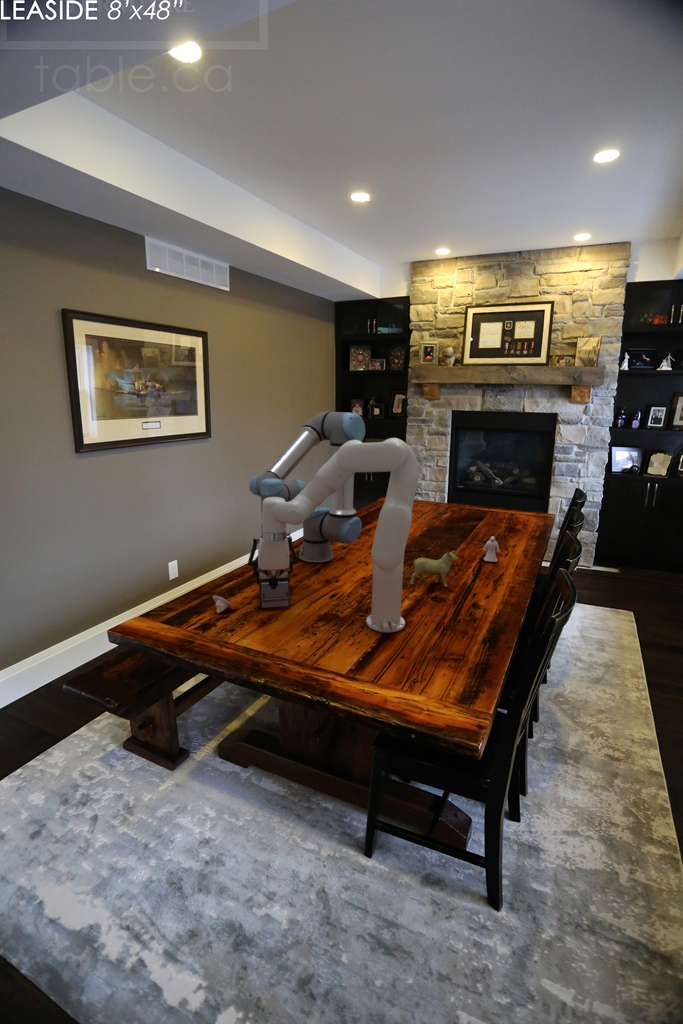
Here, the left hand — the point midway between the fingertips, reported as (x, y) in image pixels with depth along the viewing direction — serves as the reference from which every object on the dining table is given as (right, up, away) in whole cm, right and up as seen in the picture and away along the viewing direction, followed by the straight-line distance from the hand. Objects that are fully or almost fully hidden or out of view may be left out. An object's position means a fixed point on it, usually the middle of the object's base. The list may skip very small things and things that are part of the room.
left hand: (273, 582), depth 181 cm
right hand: (+2, 0, -15) cm, 15 cm away
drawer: (+1, -6, -6) cm, 9 cm away
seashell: (-16, -8, -11) cm, 21 cm away
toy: (+61, -3, +15) cm, 62 cm away
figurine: (+92, +3, +44) cm, 102 cm away
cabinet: (0, -6, 0) cm, 6 cm away
